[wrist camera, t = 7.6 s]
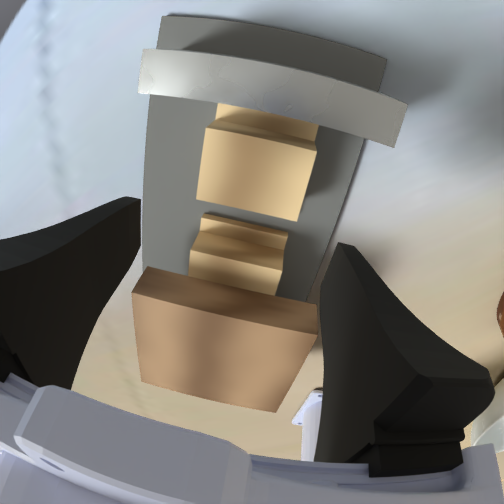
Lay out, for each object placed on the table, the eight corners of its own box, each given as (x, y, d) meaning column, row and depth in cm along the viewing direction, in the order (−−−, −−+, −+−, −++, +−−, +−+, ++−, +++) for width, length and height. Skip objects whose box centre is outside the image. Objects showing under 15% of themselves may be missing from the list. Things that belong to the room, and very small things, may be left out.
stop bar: (378, 91, 15) (407, 104, 11) (368, 124, 16) (394, 147, 12) (181, 49, 15) (143, 48, 11) (176, 82, 16) (137, 92, 12)
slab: (316, 304, 20) (318, 335, 18) (278, 386, 26) (275, 412, 24) (147, 265, 20) (131, 292, 18) (151, 357, 26) (141, 381, 23)
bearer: (318, 122, 17) (322, 132, 14) (292, 215, 20) (291, 237, 18) (220, 101, 17) (208, 108, 14) (205, 195, 20) (194, 215, 18)
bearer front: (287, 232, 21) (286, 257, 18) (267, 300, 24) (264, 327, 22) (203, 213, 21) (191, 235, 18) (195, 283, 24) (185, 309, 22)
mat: (385, 59, 14) (387, 59, 14) (277, 363, 29) (277, 367, 29) (164, 16, 14) (161, 16, 14) (147, 333, 29) (145, 336, 28)
